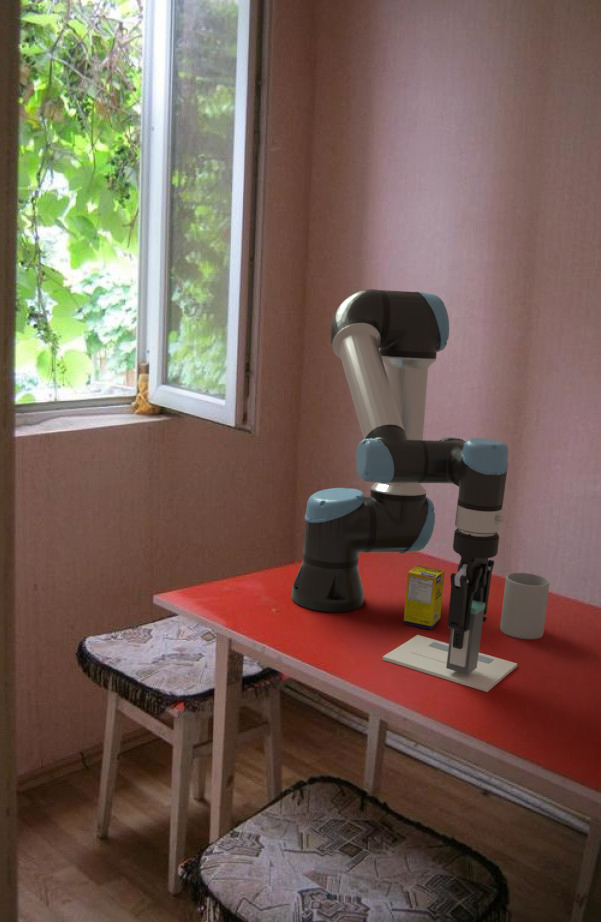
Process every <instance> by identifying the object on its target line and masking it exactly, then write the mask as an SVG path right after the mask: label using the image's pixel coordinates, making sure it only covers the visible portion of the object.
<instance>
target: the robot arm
mask: <svg viewBox="0 0 601 922" xmlns="http://www.w3.org/2000/svg"><path fill="white" fill-rule="evenodd" d="M329 337H330V343H331V348H332V351H333V353H334V354H335V356H336V357H338V358H339V359H340V360H341V363H342V367H343V371H344V374H345V378H346V381H347V385H348V388H349V391H350V395H351V399H352V402H353V406H354V409H355V413H356V416H357V417H356V418H357V419H358V423H359V424H358V425H359V427H360V431H361V434H362V437H363V439H362V440H361V441H360V442H358V445H357V448H356V453H355V462H356V465H355V466H356V471H357V474H358V477H359V478H360V479H361V480H363V481H365V482H370V483H373V484H372V485H371V486H370V495H369V496H365V495H364V492H363V491H362V490H359V489H357V488H346V487H335V488H333V487H332V488H327V489H322V490H319V491H316V492H314V493H313V494H311V495H310V497H309V498H308V499H307V502H306V508H305V509H306V511H305V514H304V534H303V535H304V536H303V546H302V547H303V548H302V549H303V550H302V553H303V554H302V562H301V565H300V567H299V570H298V573H297V574H296V577H295V580H294V581H293V584H292V588H291V590H292V591H291V599H292V601H293V602H294V603H296V604H297V605H298V606H301V607H302V608H303V607H304V608H306V609H310V610H313V611H319V612H328V613H329V612H330V613H340V612H343V613H345V612H349V611H355V610H357V609H359V608H361V607H362V606H363V605H364V599H365V591H364V587H363V583H362V579H361V575H360V570H359V560H360V559H359V556H360V554H361V553H363V554H365V553H369V554H370V553H399V554H407V553H416V552H420V551H422V550H423V549H424V548H425V547H426V546H427V545H428V544H429V542H431V541H430V540H431V538H432V536H433V532H434V528H435V523H436V513H435V505H434V503H433V501H432V500H431V498H429V497H428V496H427V490H426V489H425V487H424V486H423V485H422V484H452V485H455V486H457V487H458V496H457V503H456V510H455V511H456V513H455V522H454V526H455V527H456V528H455V530H454V534H453V544H452V549H453V551H454V552H455V553H456V554H458V555H459V556H460V561H459V563H458V566H457V573H455V572H452V573H451V574H450V593H449V596H450V597H449V607H448V615H447V616H448V617H447V628H449V629H451V628H452V629H453V634H452V644H451V653H450V663H451V664H455V665H458V666H461V667H465V666H466V659H467V649H468V640H469V631H470V630H467V629H468V623H469V617H470V612H471V607H472V601H473V600H476V601H479V602H484V603H485V609H484V615H483V623H486V621H487V619H488V618H487V617H486V615H487V613H488V604H489V597H490V590H491V589H490V588H491V583H492V582H491V580H492V573H493V569H494V565H495V561H494V560H493V559H492V558H494V557H496V556H497V555H498V553H499V552H498V551H499V545H500V535H499V533H498V532H500V531H501V522H504V520H505V517H504V516H503V515H502V513H503V504H504V500H505V490H506V482H507V474H508V470H509V448H508V445H507V443H505V442H503V441H501V440H496V439H493V438H484V437H483V438H482V437H473V438H468V439H466V440H464V439H463V438H457V437H454V436H453V437H452V436H449V437H443V438H441V439H440V440H431V439H430V440H427V439H425V440H424V428H425V425H424V424H425V418H426V417H425V416H426V415H425V414H426V413H425V412H426V402H427V401H426V399H427V387H428V386H427V385H428V375H429V374H428V373H429V368H430V366H431V365H433V364H434V363H435V362H436V361H437V353H439V352H441V351H443V350H444V349H445V348H446V346H447V344H448V342H447V341H449V337H450V319H449V313H448V311H447V307H446V306H445V302H444V301H443V300H442V298H441V297H440V296H438V295H436V294H433V293H427V292H421V291H405V290H403V291H402V290H400V291H399V290H387V289H386V290H385V289H384V290H382V289H378V288H377V289H374V288H370V289H362V290H360V291H356V292H354V293H353V294H350V295H349V296H348V297H347V298H346V299H344V300H343V301H342V302H341V304H340V305H338V308H337V309H336V310H335V313H334V314H333V317H332V320H331V324H330V328H329Z"/></svg>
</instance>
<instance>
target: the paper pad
mask: <svg viewBox="0 0 601 922" xmlns="http://www.w3.org/2000/svg"><path fill="white" fill-rule="evenodd" d="M448 649H449V642H448V643H447V642H444V641H440V640H437V639H433V638H430V637H427V636H422V635H420V634H416V635H415V636H413V637H412V638H410V639H409V640H408V641H406V642H404V643H403V644H401V645H399V646H397V647H396V648H395V649H393V650H392V651H389V652H387V653H386V654H385V655H383V656H382V660H383V661H385V662H389V663H391V664H395V665H399V666H402V667H404V668H409V669H412V670H414V671H417V672H421V673H425V674H427V675H431V676H434V677H437V678H440V679H444V680H447V681H451V682H453V683H457V684H460V685H463V686H466V687H470V688H473V689H477V690H479V691H483V692H486V693H488V692H490V690H491V689H492V688H494V687H495V686H496V685H497V684H498V683H500V682H501V681H502V680H503V679H504V678H506V677H507V676H508V675H509V674H510V673H511V672H513V671H514V670H515V669H516V668H517V667H518V663H516V662H513V661H510V660H506V659H503V658H499V657H496V656H492V655H488V654H485V653H482V652H479V654H478V662H477V668H476V669H475V670H473V671H472V672H471V673H469V674H468V675H466V674H463V673H460V672H457V671H453V670H450V669H447V668H446V666H447V657H448Z"/></svg>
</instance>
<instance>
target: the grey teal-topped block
mask: <svg viewBox="0 0 601 922" xmlns="http://www.w3.org/2000/svg"><path fill="white" fill-rule="evenodd" d="M484 609H485V603H484V602H479V601H476V600H473V601H472V607H471V612H470V617H469V623H468V629H467V630H470V631H469V640H468V649H467V659H466V666H465V667H461V666H458V665H455V664H451V663H450V653H451V644H452V634H453V629H452V628H450V635H449V642H448V644H449V649H448V657H447V666H446V668H447V669H450V670H453V671H457V672H460V673H463V674H466V675H468V674H469V673H471V672H472V671H473V670H475V669H476V668H477V662H478V654H479V653H480V646H481V645H480V644H481V639H482V631H483V623H484V622H483V617H484V616H485V615H484Z"/></svg>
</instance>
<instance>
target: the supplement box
mask: <svg viewBox="0 0 601 922" xmlns="http://www.w3.org/2000/svg"><path fill="white" fill-rule="evenodd" d="M445 572H446V571H445V570H444V569H439V568H435V567H434V568H433V567H428V566H423V565H418V564H417V565H415V566H414V567H413V568H412V569H410V570H409V571H408V572H407V578H406V579H407V580H406V591H405V601H404V612H403V624H404V625H407V626H413V627H417V628H423V629H426V630H427V629H428V630H433V629H434V628H435V626H436V625H437V624H438V623H440V621H441V614H442V606H443V605H442V603H443V594H444V593H443V591H444V581H445Z"/></svg>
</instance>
